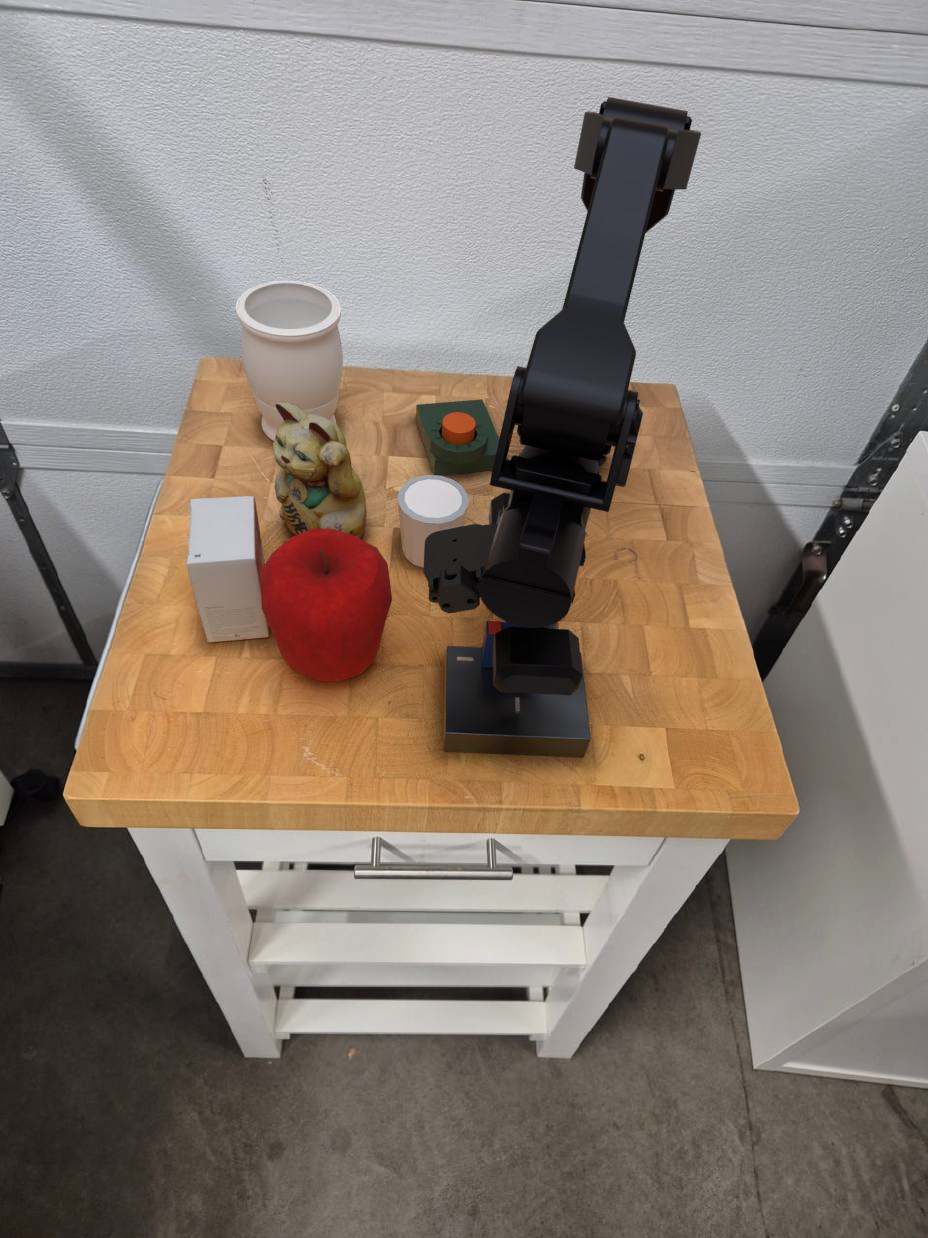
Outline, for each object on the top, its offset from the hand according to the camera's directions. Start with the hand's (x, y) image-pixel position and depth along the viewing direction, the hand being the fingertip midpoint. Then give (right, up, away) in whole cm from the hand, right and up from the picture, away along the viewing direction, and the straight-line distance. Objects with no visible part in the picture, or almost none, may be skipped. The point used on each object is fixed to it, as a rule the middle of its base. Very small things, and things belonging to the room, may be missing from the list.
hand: (517, 651), depth 70 cm
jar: (-24, +25, +24) cm, 42 cm away
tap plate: (0, -4, +3) cm, 5 cm away
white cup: (-8, +10, +13) cm, 18 cm away
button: (-5, +23, +19) cm, 31 cm away
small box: (-26, +4, +6) cm, 27 cm away
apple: (-17, -1, +4) cm, 17 cm away
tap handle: (0, -1, +1) cm, 1 cm away
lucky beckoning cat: (-19, +12, +14) cm, 26 cm away
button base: (-5, +23, +24) cm, 34 cm away
